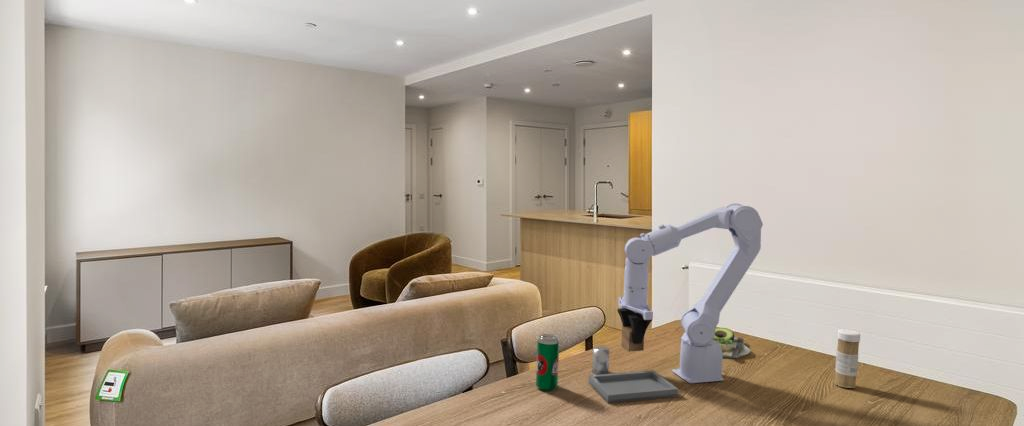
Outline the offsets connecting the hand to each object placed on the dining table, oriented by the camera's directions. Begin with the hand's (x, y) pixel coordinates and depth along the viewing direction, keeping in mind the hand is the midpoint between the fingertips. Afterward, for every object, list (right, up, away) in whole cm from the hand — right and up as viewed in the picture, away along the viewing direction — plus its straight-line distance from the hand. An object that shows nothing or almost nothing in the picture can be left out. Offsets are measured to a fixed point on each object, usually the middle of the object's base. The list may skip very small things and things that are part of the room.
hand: (633, 340), depth 131 cm
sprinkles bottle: (+50, -10, -5) cm, 51 cm away
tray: (-3, -9, -10) cm, 14 cm away
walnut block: (0, -2, 0) cm, 2 cm away
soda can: (-22, -9, -10) cm, 26 cm away
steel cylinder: (-8, -8, 0) cm, 12 cm away
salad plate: (+29, -8, +21) cm, 36 cm away
